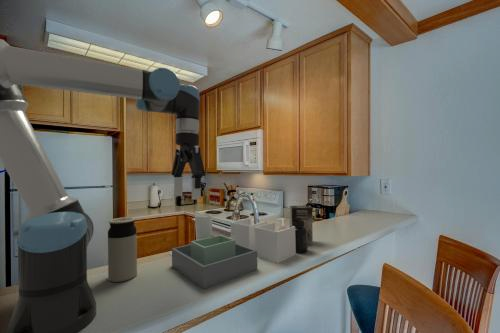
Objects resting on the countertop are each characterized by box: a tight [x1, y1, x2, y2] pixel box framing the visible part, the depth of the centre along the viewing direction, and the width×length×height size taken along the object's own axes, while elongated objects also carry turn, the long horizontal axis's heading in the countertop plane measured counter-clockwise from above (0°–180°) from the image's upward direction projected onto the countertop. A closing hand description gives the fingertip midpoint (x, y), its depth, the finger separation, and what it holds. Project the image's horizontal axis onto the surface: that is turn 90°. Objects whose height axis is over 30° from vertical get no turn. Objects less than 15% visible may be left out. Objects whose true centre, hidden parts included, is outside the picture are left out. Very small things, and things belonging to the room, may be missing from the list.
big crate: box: [171, 243, 258, 290], centre depth 83 cm, size 20×22×6 cm
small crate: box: [190, 234, 236, 266], centre depth 83 cm, size 12×9×8 cm
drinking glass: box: [194, 213, 213, 240], centre depth 98 cm, size 7×7×15 cm
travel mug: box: [107, 216, 138, 283], centre depth 77 cm, size 8×8×18 cm
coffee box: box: [289, 205, 314, 246], centre depth 108 cm, size 9×6×16 cm
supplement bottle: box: [292, 220, 309, 254], centre depth 98 cm, size 7×7×12 cm
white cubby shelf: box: [230, 218, 297, 264], centre depth 98 cm, size 25×11×11 cm, turn 45°
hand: (186, 197), depth 81 cm, fingers open, 13 cm apart
